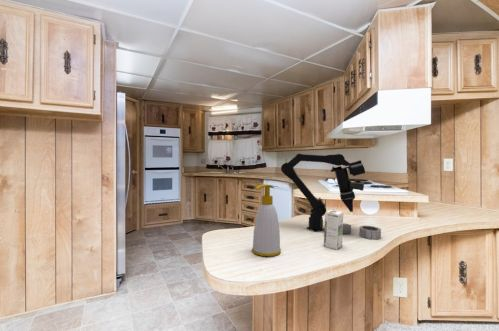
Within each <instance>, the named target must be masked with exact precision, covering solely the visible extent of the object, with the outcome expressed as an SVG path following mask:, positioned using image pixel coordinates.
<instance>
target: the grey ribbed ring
mask: <svg viewBox="0 0 499 331" xmlns="http://www.w3.org/2000/svg"><path fill="white" fill-rule="evenodd" d="M358 231H359V237H361V238H363V239H365V240H366V239H367V240H374V241H375V240H376V241H377V240H381V238H382V228H379V227H378V226H372V225H360V226H359V230H358Z"/></svg>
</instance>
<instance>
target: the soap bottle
mask: <svg viewBox="0 0 499 331" xmlns="http://www.w3.org/2000/svg"><path fill="white" fill-rule="evenodd" d="M262 188H264V195H261V204H260V205H259V206H258V208H257V209H258V210H257V212H256V215H255V221H254V229H253V235H252V236H253V237H252V238H253V241H252V249H251V250H252V252H253V253H254V254H255V255H256V256H260V257H266V256H267V257H275V256H277V255H279V254H281V251H282V250H281V237H280V233H281V232H280V225H279V217H278V212H277V209H276V206H275V205H274V203H273V202H274V201H273V200H274V199H273V197H274V196H272V195H271V194H270V192H271V189H270V188H272V189H275V186H274V185H271V184H264V183H263V184H259V185H258V186H256V187H255V191H256V190H257V191H259V190H261V189H262Z"/></svg>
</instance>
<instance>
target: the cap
mask: <svg viewBox="0 0 499 331" xmlns="http://www.w3.org/2000/svg"><path fill="white" fill-rule="evenodd" d="M343 235H347V236H349V235H352V224H350V223H349V224H348V223H343Z"/></svg>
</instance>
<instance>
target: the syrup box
mask: <svg viewBox="0 0 499 331" xmlns="http://www.w3.org/2000/svg"><path fill="white" fill-rule="evenodd" d="M343 224H344V212H343V211H340V210H335V209H331V210H330V209H329V210H327V211H326V212H325V215H324V228H323V229H324V230H323V232H324V234H323V247H326V248H329V249H333V250H339V249H340V248H341V247H342V246H343V235H344V234H343Z"/></svg>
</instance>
